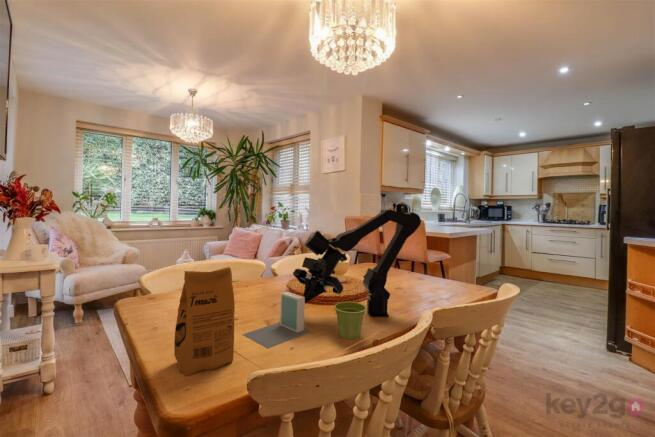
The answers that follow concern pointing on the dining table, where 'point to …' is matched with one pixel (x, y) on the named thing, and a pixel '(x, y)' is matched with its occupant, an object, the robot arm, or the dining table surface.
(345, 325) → the plant pot
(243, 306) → the dining table surface
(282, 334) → the mat
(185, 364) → the coffee package
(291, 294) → the white flat block
